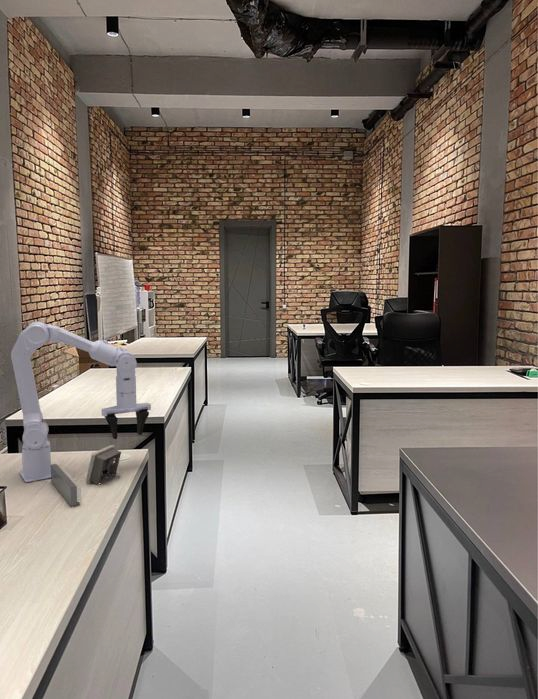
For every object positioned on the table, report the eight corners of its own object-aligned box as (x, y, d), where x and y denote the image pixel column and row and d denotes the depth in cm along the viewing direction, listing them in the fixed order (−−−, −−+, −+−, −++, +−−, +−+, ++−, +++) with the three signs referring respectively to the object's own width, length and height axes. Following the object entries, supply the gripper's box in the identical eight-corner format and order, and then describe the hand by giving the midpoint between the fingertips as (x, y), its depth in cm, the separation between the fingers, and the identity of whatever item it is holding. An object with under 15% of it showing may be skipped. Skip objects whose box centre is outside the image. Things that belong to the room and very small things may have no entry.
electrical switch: (106, 472, 156) (108, 442, 154) (121, 477, 154) (123, 446, 153) (85, 484, 147) (86, 452, 146) (100, 488, 145) (102, 456, 144)
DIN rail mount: (51, 482, 148) (50, 464, 147) (60, 480, 149) (59, 463, 149) (71, 506, 132) (70, 487, 131) (81, 504, 133) (80, 485, 133)
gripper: (106, 397, 151) (107, 443, 152) (154, 391, 159) (155, 435, 161) (98, 392, 157) (100, 437, 158) (145, 387, 165) (146, 430, 166)
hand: (127, 436), depth 160 cm, fingers open, 7 cm apart
